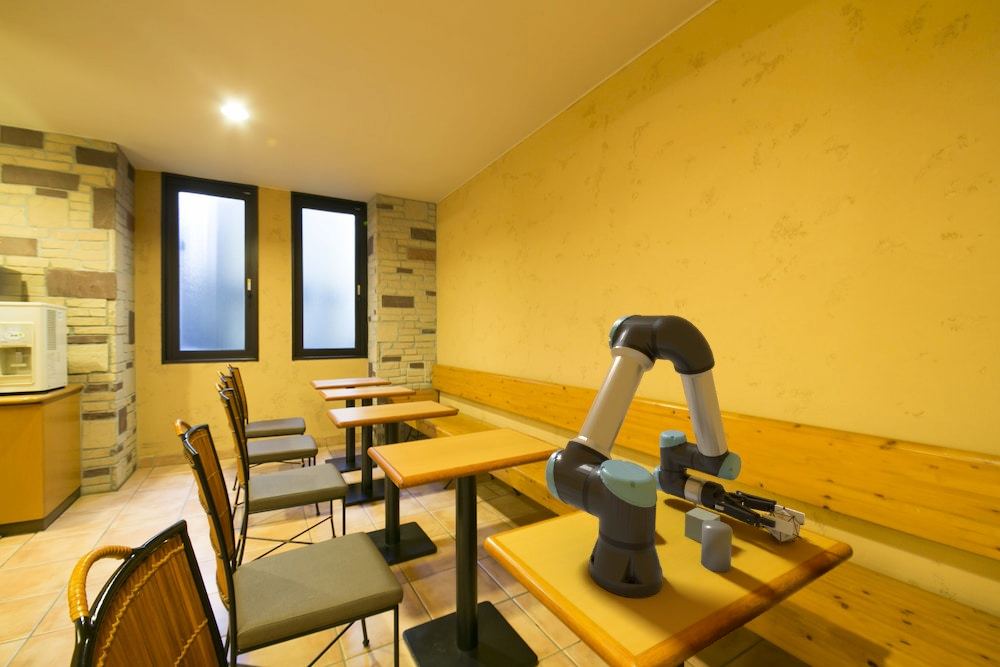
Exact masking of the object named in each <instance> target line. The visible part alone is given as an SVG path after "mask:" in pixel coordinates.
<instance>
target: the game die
mask: <svg viewBox="0 0 1000 667" xmlns="http://www.w3.org/2000/svg"><path fill="white" fill-rule="evenodd" d="M782 507H783V510H778V511H773V510H771V509H770V511H771V513H769V514H768V513H766V512H765V513H763V514H766V515H769V516H772V517H775V518H778V519H781V520H784V521H787V522H790V523H793V532H792V535H788V534H786V533H783V532H780V531H777V530H774V529H772V528H769V527H766V526H763V525H761V526H760V528H762V529H766V530H767V532H768V533H769V535H770V536H773V537H774V538H775V539H776V540H777V541H778V542H779V543H778V544H779V546H782V543H785V542H789V541H792V543H796V541H795V539H797V538H798V539H800V540H802V536H801V535H800V529H801V526H804V525H803V523H799V522H798V521H797V520H796V519H794V518H795V515H793V516H791V515H790V514H789V513H788V512H787V511H786V510H785V508H786V506H782Z"/></svg>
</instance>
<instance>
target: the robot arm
mask: <svg viewBox="0 0 1000 667" xmlns="http://www.w3.org/2000/svg"><path fill="white" fill-rule="evenodd" d="M608 338H609V340H608V346H609V348H610V356H611V358H612V362H611V364H610V366H609V368H608V370H607V372H606V374H605V377H604V378H603V381H602V383H601V385H600V387H599V390H598V392H597V394H596V396H595V398H594V400H593V403H592V405H591V407H590V409H589V411H588V413H587V415H586V417H585V420H584V422H583V425H582V426H581V429H580V430H579V433H578V435H577V437H575V438H571V439H569V440H568V441H567V444H566V446H565V448H561V449H557V450H556V451H554V452H553V453H552V454H551V455H550V457H549V458H548V460H547V462H546V466H545V467H546V468H545V472H544V474H545V475H544V478H545V482H546V487H547V490H548V492H549V493H550V494H551V495H552V496H553V497H554V498H556V499H557V500H559V501H560V502H562V503H563V504H565V505H569V506H571V507H574V508H576V509H578V510H581V511H582V512H585V513H587V514H589V515H591V516H593V517H595V518H597V519H598V533H597V534H598V536H597V538H596V541H595V544H594V546H593V548H592V551H591V554H590V557H589V562H588V563H589V567H588V568H589V569H588V570H589V575H590V577H591V579H592V580H593V581H594V582H595V583H596V584H597V585H598V586H599V587H601V588H602V589H604V590H606V591H607V592H608V591H609V592H610V593H613V594H615V595H618V596H623V597H627V598H635V599H636V598H646V597H650V596H654V595H655V594H657V593H658V592H660V591H661V589H662V588H663V580H664V579H663V577H664V573H663V568H662V566H661V562H660V559H659V555H658V551H657V548H656V522H657V502H658V494H657V490H658V491H660V492H663V493H665V494H666V495H671V496H674V497H676V498H679V499H682V500H685V501H688V502H690V503H692V504H693V505H694V506H696V505H699V506H703V507H704V508H706V509H709V510H712V511H714V512H717V513H721V514H723V515H726V516H728V517H730V518H733V519H736V520H737V521H740V522H742V523H744V524H746V525H749V526H751V527H755V528H757V529H758V528H761V526H766V527H769V528H772V529H774V530H777V531H780V532H783V533H786V534H788V535H792V532H793V523H790V522H787V521H784V520H781V519H778V518H775V517H772V516H769V515H768V514H767V513H769V514H770V513H771V511H770V509H771V510H773V511H778V510H783V507H784V506H782V505H779V504H778V502H777V500H774V499H769V498H766V497H761V496H758V495H755V494H754V495H753V494H750V493H747V492H743V491H741V490H735V492H731V491H729V492H728V491H726V490H725V488H724V486H723V484H721V483H718V482H715V481H712V480H708V479H706V478H703V477H700V476H696V475H692V474H690V473H688V469H689V470H692V471H695V472H699V473H702V474H705V475H708V476H712V477H716V478H718V479H721V480H722V479H724V480H727V481H735V480H737V478H739V476H740V473H741V471H742V459H741V457H740V455H739V454H738V453H736V452H733V451H729V447H728V446H729V445H728V444H727V439H726V438H727V437H726V433H725V429H724V428H725V427H724V423H723V418H722V414H721V409H720V404H719V400H718V395H717V389H716V383H715V380H714V375H713V371H712V370H713V369H714V368H715V365H716V363H715V362H716V361H715V358H714V354H713V350H712V348H711V346H710V344H709V342H708V340H707V339H706V337H705V336H704V334H703V333H702V331H701V330H700V329H699V328H698V327H697V326H696V325H695V324H693V323H692V321H689V320H688V319H686V318H684V317H681V316H678V315H671V314H670V315H658V314H657V315H643V314H642V315H641V314H631V315H624V316H622V317H620V318H618V319H617V320H616V321H615V322H614V323H613V325H612V326H611V328H610V331H609V335H608ZM657 360H661V361H662V360H664V361H670V362H671V364H672V365H673V369H674V372H675V373H677V374H678V375H679V376H680V379H681V385H682V389H683V392H684V397H685V400H686V404H687V409H688V414H689V417H690V422H691V426H692V430H693V434H694V438H695V441H696V443H695V442H690V441H688V437H687V435H686V433H685V432H682V431H681V430H675V429H674V430H673V429H671V430H670V429H669V430H665V431H663V432H661V433H660V435H659V457H660V459H659V460H660V461H659V462H660V464H659V465H657V466H655V468H654V469H653V471H652V472H651V471H650V470H648V469H647V468H645V467H644V466H642V465H640V464H637V463H635V462H632V461H629V460H626V461H624V460H622V459H613V457H612V455H611V452H612V449H613V448H614V447H613V446H614V444H615V442H616V439H617V437H618V436H619V432H620V430H621V427H622V426H623V423H624V421H625V418H626V416H627V414H628V412H629V409H630V407H631V404H632V402H633V400H634V397H635V395H636V392H637V390H638V389H639V386H640V383H641V381H642V379H643V376H644V373H646V372H649V371H651V370H653V367H655V366H654V365H655V364H656V361H657ZM785 510H786V511H787V512H788V513H789V514H790V515H791V516H793V515H795V518H794V519H796V520H797V521H798V522H799V523H803V525H802V526H804V525H806V513H804V512H801V511H798V510H794V509H791V508H788V507H785ZM757 511H760V512H762V513H761V514H760V513H758V512H757ZM763 512H765V514H764V513H763ZM766 514H767V515H766Z"/></svg>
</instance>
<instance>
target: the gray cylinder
mask: <svg viewBox="0 0 1000 667" xmlns="http://www.w3.org/2000/svg"><path fill="white" fill-rule="evenodd" d="M732 544H733V528H732V526H730V525H729V524H727V523H725V522H723V521H721V520H720V521H716V520H705V521H703V522H702V543H701V546H700V548H701V550H700V551H701V552H700V563H701V565H702V566H703V567H704V568H705V569H707V570H709V571H711V572H713V573H717V574H727V573H728V574H729V573H730V571H731V568H732V567H731V566H732Z"/></svg>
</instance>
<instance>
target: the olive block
mask: <svg viewBox="0 0 1000 667" xmlns="http://www.w3.org/2000/svg"><path fill="white" fill-rule="evenodd" d="M684 519H685V520H684V537H686V538H688V539H690V540H693V541H694V542H695V541H696V542H698V543H700V544H702V522H703V521H705V520H716V521H720V522H721V515H719V514H716V513H714V512H711V511H708V510H705V509H702V508H700V507H695V508H693V509H691V510H689V511H688V512H685V516H684Z"/></svg>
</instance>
